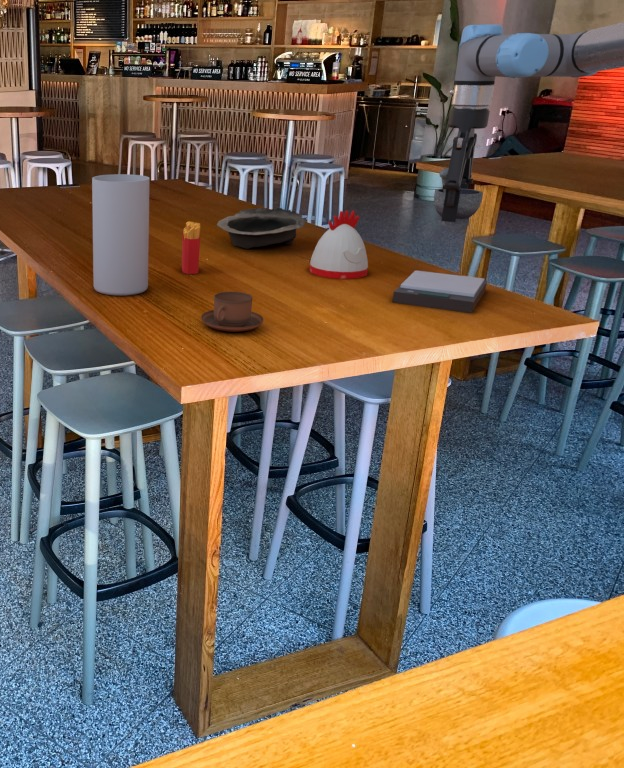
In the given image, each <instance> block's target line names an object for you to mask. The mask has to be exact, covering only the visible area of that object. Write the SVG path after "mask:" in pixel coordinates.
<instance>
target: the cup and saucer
mask: <svg viewBox="0 0 624 768" xmlns="http://www.w3.org/2000/svg"><path fill="white" fill-rule="evenodd" d="M252 308H253V296H252V295H251V294H249V293H246V292H240V291H222V292H221V291H220V292H218V293H216V294H214V296H213V309H212V310H207V311H205V312H203V314H201V317H200V318H201V321H202V322H203V323H204V324H205V326H207V327H209V328H211V329H214V330H218V331H222V332H231V333H232V332H233V333H235V332H237V333H239V332H247V331H251V330H254V329H257V328H258V327H260V326H261V325H262V324H263V322H264V317H263V316H262V315H261V314H259V313H258V312H253V311H252Z"/></svg>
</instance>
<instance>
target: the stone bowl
mask: <svg viewBox="0 0 624 768" xmlns="http://www.w3.org/2000/svg"><path fill="white" fill-rule="evenodd" d="M307 218H308V216H306V217H303V214H301V213H298V212H296V211H293V210H291V209H283V208H282V207H277V208H275V209H274V208H273V209H272V208H258V207H256V208H245V209H240V211H239V212H236V213H235V214H234V215H228V216H226V217H224V218H222V219H220V220H219V221H217V224H216V226H217V227H219V228H220V229H222V230H223V231H225V232H227V235H228V236H229V238H230V241H231V242H232V244H233V246H234V247H239V248H242V249H246V250H249V249H252V248H260V247H267V246H271V245H274V244H275V245H276V244H282V245H286V246H289V245H292V244H293V243H294V241H295V239H296V238H297V229H301V228H303V227H305V225H306V221H307Z"/></svg>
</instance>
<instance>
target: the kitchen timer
mask: <svg viewBox="0 0 624 768" xmlns="http://www.w3.org/2000/svg"><path fill="white" fill-rule="evenodd" d="M360 218H361V217H360V215H356V211H354V210H351V212H350V215H349V211H348V210H345V211H343V210H340V211H339V215H338V216H337V215H333V222H334V223H333V222H332V221H330V220H328V226H329V228H328V229H327V230H326V231H325V232H324V233H323V235H321V237H320V238H319V239H318V241H317V243H316V245H315V248H314V250H313V252H312V254H311V258H310V262H309V272H310V273H311V274H312V275H315V276H319V277H323V278H330V279H340V280H342V279H343V280H344V279H345V280H347V279H348V280H349V279H358V278H359V279H360V278H363V277H366V276H367V275H368V270H369V260H368V255H367V250H366V246H365V243H364V240H363V238H362V236H361V235H360V233H359V232H358V231H357V229H355V228H356V226H357V224H358V222H359V220H360Z"/></svg>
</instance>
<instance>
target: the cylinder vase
mask: <svg viewBox="0 0 624 768" xmlns="http://www.w3.org/2000/svg"><path fill="white" fill-rule="evenodd" d="M91 179H92V180H91V181H92V183H91V189H92V190H91V191H92V192H91V193H92V194H91V195H92V196H91V197H92V201H91V202H92V273H93V274H92V275H93V276H92V277H93V279H92V280H93V289H94V290H95V291H96V292H97V293H100V294H102V295H106V296H112V297H114V296H115V297H126V296H127V297H128V296H136V295H141V294H142V293H144V292H146V291H147V290H148V288H149V246H150V245H149V244H150V240H149V239H150V180H151V179H150V177H149V176H147V175H140V174H126V173H125V174H124V173H121V174H120V173H119V174H118V173H117V174H102V175H101V174H100V175H96V176H93V177H91Z"/></svg>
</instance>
